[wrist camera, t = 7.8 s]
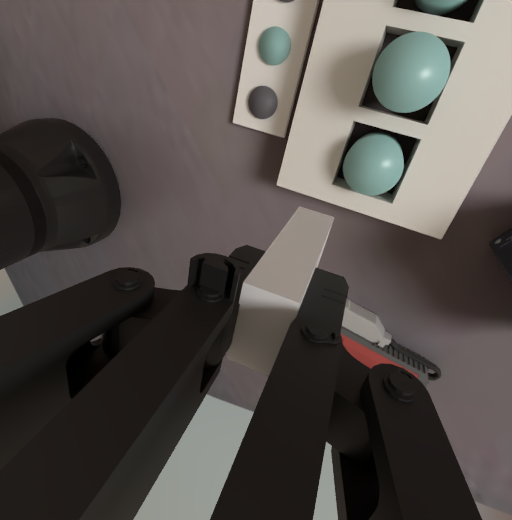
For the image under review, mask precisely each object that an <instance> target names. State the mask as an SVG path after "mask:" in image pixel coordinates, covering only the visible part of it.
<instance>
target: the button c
mask: <svg viewBox="0 0 512 520" xmlns="http://www.w3.org/2000/svg"><path fill="white" fill-rule="evenodd" d="M467 1H468V0H414V2H415V4H416V5H417V7H418V8H419V9H420V10H422V11H423V12H425V13H427V14H431V15H444V14H448V13H450V12H453V11H455V10H456V9H458V8H460V7H461V6H462V5H464V4H465V3H466V2H467Z"/></svg>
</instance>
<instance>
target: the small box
mask: <svg viewBox="0 0 512 520" xmlns="http://www.w3.org/2000/svg"><path fill="white" fill-rule="evenodd" d="M490 246H491V248H492V249H493V251H494V253H495V255H496V256H497V258H498V260H499V262H500V263H501V265H502V267H503V269H504V270H505V272H506V273H507V275H508V277H509V279H510V280H511V282H512V229H510V230H508V231H507V232H505V233H504V234H502V235H501V236H499V237H498V238H497V239H495V240H493V241H491V242H490Z"/></svg>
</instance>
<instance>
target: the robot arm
mask: <svg viewBox="0 0 512 520" xmlns="http://www.w3.org/2000/svg"><path fill="white" fill-rule="evenodd" d="M120 207H121V200H120V191H119V186H118V182H117V179H116V176H115V173H114V171H113V169H112V166H111V164H110V162H109V161H108V159H107V157H106V155H105V154H104V152H103V151H102V150H101V148H100V147H99V146H98V144H97V143H96V142H95V141H94V140H93V139H92V138H91V137H90V136H89V135H88V134H87V133H86V132H84V131H83V130H82V129H80V128H79V127H77V126H76V125H74V124H72V123H70V122H67V121H65V120H61V119H55V118H49V119H35V120H30V121H26V122H23V123H21V124H19V125H17V126H15V127H13V128H11V129H10V130H8V131H6V132H4V133H2V134H0V270H1V269H3V268H5V267H7V266H9V265H11V264H14V263H16V262H18V261H20V260H22V259H24V258H26V257H29V256H31V255H33V254H35V253H38V252H43V251H53V250H63V249H73V248H82V247H86V246H89V245H92V244H94V243H96V242H98V241H100V240H102V239H104V238H106V237H107V236H108V235H109V234H110V233H111V232H112V231H113V230H114V228H115V226H116V224H117V222H118V219H119V215H120ZM333 220H334V217H332V216H329V215H325V214H322V213H319V212H316V211H313V210H309V209H306V208H303V207H300V206H299V208H298V209H297V210H296V212H295V213H294V214H293V216H292V217H291V218H290V220H289V221H288V223H287V224H286V225H285V227H284V228H283V229H282V231H281V232H280V233H279V235H278V236H277V237H276V239H275V240H274V241H273V243H272V244H271V246H270V247H269V248H268V250H267V251H263V250H260V249H257V248H254V247H251V246H248V245H245V246H242V247H239V248H237V249H235V250H234V251H233V252H232V253H231V254H230V255H229V257H226V256H223V255H219V254H213V253H204V254H199V255H196V256H194V257H192V258H191V259H190V267H189V276H188V285H187V286H186V287H185V288H184V289H183V290H169V289H163V288H156V287H154V286H155V282H154V278H153V276H151V275H150V274H149V273H148V272H146V271H144V270H141V269H138V268H131V267H127V268H118V269H114V270H110V271H108V272H105V273H103V274H101V275H98V276H96V277H93V278H91V279H89V280H86V281H84V282H81V283H79V284H76V285H74V286H72V287H69V288H67V289H64V290H62V291H60V292H57V293H55V294H52V295H50V296H47V297H45V298H43V299H40V300H38V301H35V302H33V303H31V304H28V305H26V306H23V307H21V308H19V309H16V310H14V311H12V312H9V313H7V314H4V315H2V316H0V520H133V519H134V517H135V516H136V514H137V512H138V510H139V509H140V507H141V505H142V504H143V502H144V500H145V498H146V497H147V495H148V493H149V491H150V490H151V488H152V486H153V485H154V483H155V481H156V480H157V478H158V476H159V474H160V473H161V471H162V469H163V468H164V466H165V464H166V463H167V461H168V459H169V457H170V456H171V454H172V452H173V451H174V449H175V447H176V445H177V444H178V442H179V440H180V439H181V437H182V435H183V433H184V432H185V430H186V428H187V426H188V425H189V423H190V421H191V420H192V418H193V416H194V415H195V413H196V411H197V409H198V408H199V406H200V404H201V403H202V401H203V399H204V397H205V396H206V394H207V392H208V391H209V389H210V387H211V385H212V384H213V382H214V380H215V379H216V377H217V375H218V373H219V371H220V368H221V364H222V359H223V357H224V355H225V354H226V352H227V350H228V349H229V351H228V355H227V359H228V360H231V361H233V362H236V363H238V364H240V365H243V366H245V367H248V368H250V369H252V370H255V371H257V372H259V373H262V374H264V375H267V376H269V377H268V380H267V382H266V384H265V387H264V389H263V392H262V394H261V397H260V399H259V401H258V404H257V406H256V409H255V411H254V414H253V416H252V419H251V421H250V423H249V426H248V428H247V431H246V433H245V436H244V438H243V440H242V443H241V445H240V448H239V450H238V453H237V455H236V458H235V460H234V463H233V465H232V467H231V470H230V472H229V475H228V478H227V480H226V482H225V484H224V487H223V489H222V492H221V494H220V497H219V499H218V502H217V504H216V506H215V509H214V511H213V514H212V516H211V519H210V520H313V515H314V509H315V503H316V497H317V491H318V485H319V479H320V474H321V468H322V462H323V456H324V450H325V444H326V441H327V442H328V443H329V444H331V445H332V449H331V452H332V463H333V473H334V483H335V493H336V502H337V511H338V520H482V518H481V516H480V514H479V511H478V509H477V506H476V504H475V502H474V499H473V497H472V494H471V492H470V490H469V487H468V485H467V483H466V480H465V478H464V475H463V473H462V471H461V468H460V466H459V464H458V461H457V459H456V456H455V454H454V452H453V449H452V447H451V444H450V442H449V440H448V437H447V435H446V433H445V430H444V428H443V425H442V423H441V421H440V418H439V416H438V414H437V411H436V409H435V406H434V404H433V402H432V399H431V397H430V395H429V393H428V391H427V390H426V388H425V386H424V385H423V383H422V382H421V381H420V380H418V379H417V378H416V377H415V376H414V375H413V374H412V373H410V372H408V371H407V370H405V369H404V368H401V367H399V366H396V365H393V364H385V363H381V364H378V365H375V366H373V367H372V369H370V368H369V367H367V366H366V365H364V364H363V363H361V362H360V361H358V360H357V359H356V358H354V357H353V356H352V355H351V354H350V353H349V352H348V351H347V350H346V348H345V347H344V345H343V343H342V336H341V335H340V333H341V327H342V322H343V316H344V311H345V304H346V300H347V294H348V289H349V286H348V284H347V282H346V280H345V278H344V277H342V276H339V275H336V274H333V273H330V272H327V271H324V270H322V269H319V268H317V267H318V264H319V261H320V258H321V255H322V252H323V249H324V246H325V244H326V241H327V238H328V235H329V232H330V229H331V226H332V223H333ZM99 335H101V338H100V339H98V340H96V341H93V342H90V340H92V339H94V338H95V337H97V336H99Z"/></svg>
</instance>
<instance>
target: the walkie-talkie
mask: <svg viewBox="0 0 512 520" xmlns="http://www.w3.org/2000/svg"><path fill="white" fill-rule="evenodd" d="M340 335H341V336H342V343H343V345H344V347H345V348H346V350H347V351H348V352H349V353H350V354H351V355H352V356H353V357H354V358H356V359H357V360H358V361H360V362H361V363H363V364H364V365H366V366H367V367H369V368H370V369H372V367H373V366H375V365H378V364H381V363H385V364H393V365H396V366H399V367H401V368H404V369H405V370H407V371H408V372H410V373H412V374H413V375H414V376H415V377H416V378H417V379H418V380H420V381H421V382H422V383H423V385H424V386H425V387H426V386H427V384H428V382H429V380H437V379H439V378H440V377H441V371H440V369H439V368H438V367H437V366H436V365H435V364H433V363H431V362H429V361H427V360H426V359H425V358H424V357H423V358H422V357H420V355H417V354H415V353H414V352H411V351H410V350H407V349H405V347H401V345H398V344H397V343H396V342H395V340H393V339H392V338H391V334H389V333H387V332H386V331H385V329H384V327H383V325H382V323H381V321H380V319H379V317H378V316H377V315H376V314H374V313H372V312H370V311H368V310H366V309H364V308H363V307H361V306H359V305H357V304H355V303H353V302H351V301H350V299H348V298H347V300H346V304H345V311H344V316H343V322H342V327H341V333H340ZM427 367H428V368H430V369H432V370H434V371H435V372H436V373H434V374H431V373H428V371H427ZM428 379H429V380H428Z"/></svg>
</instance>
